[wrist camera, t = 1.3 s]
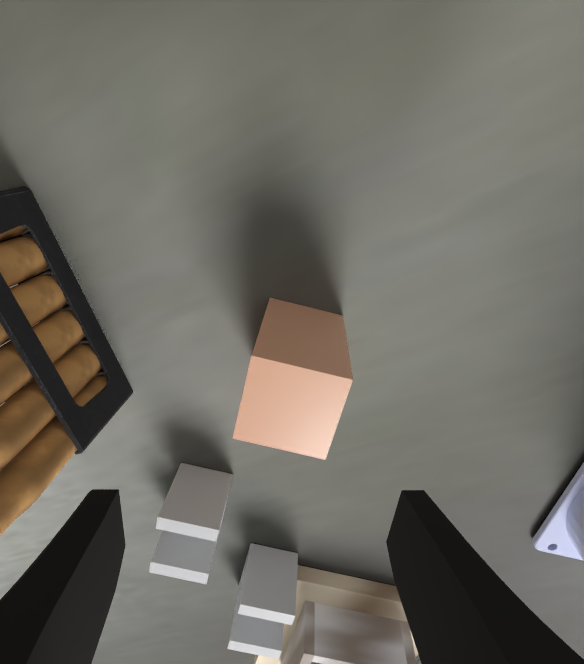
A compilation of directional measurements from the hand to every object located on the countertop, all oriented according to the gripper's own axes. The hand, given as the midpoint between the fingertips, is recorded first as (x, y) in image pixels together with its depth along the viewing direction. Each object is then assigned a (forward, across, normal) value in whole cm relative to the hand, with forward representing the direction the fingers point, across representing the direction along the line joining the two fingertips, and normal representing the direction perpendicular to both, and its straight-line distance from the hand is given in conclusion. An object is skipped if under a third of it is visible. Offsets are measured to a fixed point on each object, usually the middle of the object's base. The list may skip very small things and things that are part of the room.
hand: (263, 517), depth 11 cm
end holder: (+8, -7, +21) cm, 24 cm away
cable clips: (+10, 0, +14) cm, 17 cm away
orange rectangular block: (+10, -2, 0) cm, 10 cm away
